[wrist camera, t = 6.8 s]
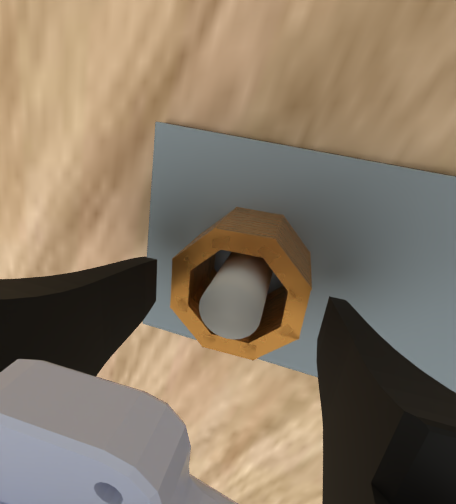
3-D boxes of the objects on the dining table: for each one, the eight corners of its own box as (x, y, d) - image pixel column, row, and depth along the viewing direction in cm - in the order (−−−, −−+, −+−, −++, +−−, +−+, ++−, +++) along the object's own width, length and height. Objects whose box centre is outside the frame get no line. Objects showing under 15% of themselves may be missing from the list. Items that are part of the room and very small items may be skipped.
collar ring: (318, 220, 14) (322, 247, 10) (294, 319, 16) (291, 370, 13) (205, 200, 15) (173, 220, 11) (197, 296, 17) (167, 338, 14)
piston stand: (562, 196, 12) (767, 239, 7) (436, 401, 17) (499, 525, 11) (164, 122, 15) (85, 112, 10) (150, 314, 20) (90, 380, 14)
